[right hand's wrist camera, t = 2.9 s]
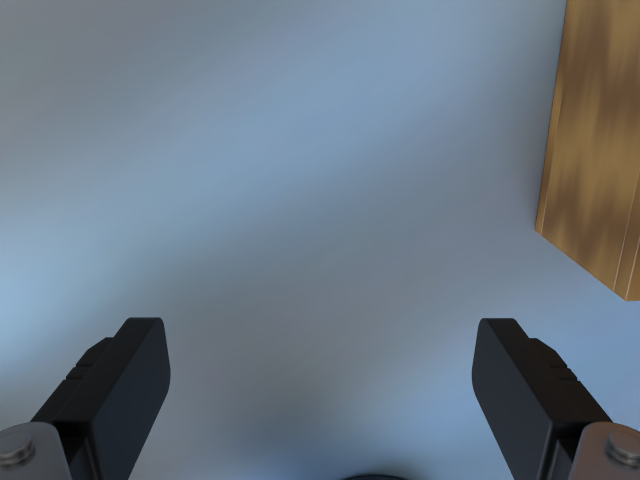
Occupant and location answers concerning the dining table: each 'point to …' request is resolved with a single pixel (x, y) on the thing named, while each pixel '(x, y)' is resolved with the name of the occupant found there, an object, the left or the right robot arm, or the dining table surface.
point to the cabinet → (596, 145)
